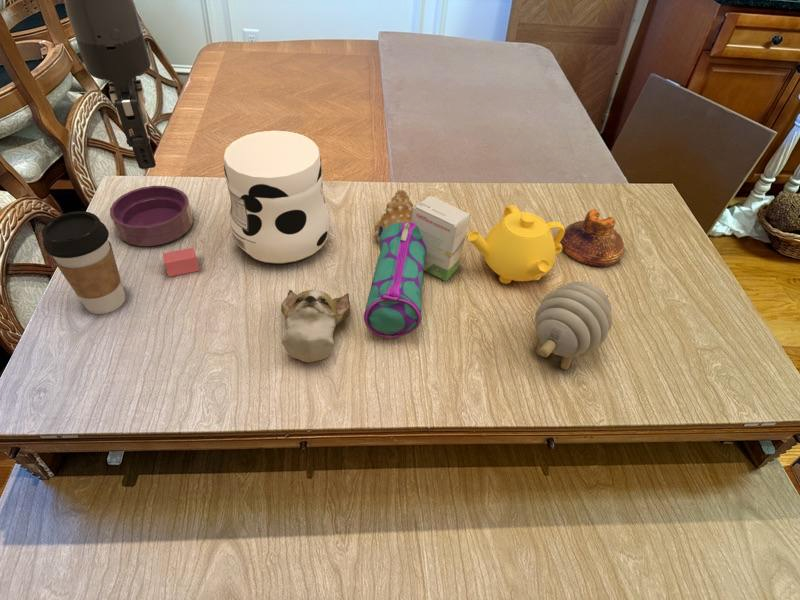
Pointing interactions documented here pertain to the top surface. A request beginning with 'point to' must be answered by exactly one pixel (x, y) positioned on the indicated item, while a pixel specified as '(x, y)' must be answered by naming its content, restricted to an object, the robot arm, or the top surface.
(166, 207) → the bowl
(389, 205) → the seashell
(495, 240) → the teapot
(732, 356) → the top surface
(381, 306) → the pencil case
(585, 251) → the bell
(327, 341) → the ceramic sculpture
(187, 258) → the eraser
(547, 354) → the toy sheep
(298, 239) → the milk container
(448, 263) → the ink box
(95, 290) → the coffee cup
